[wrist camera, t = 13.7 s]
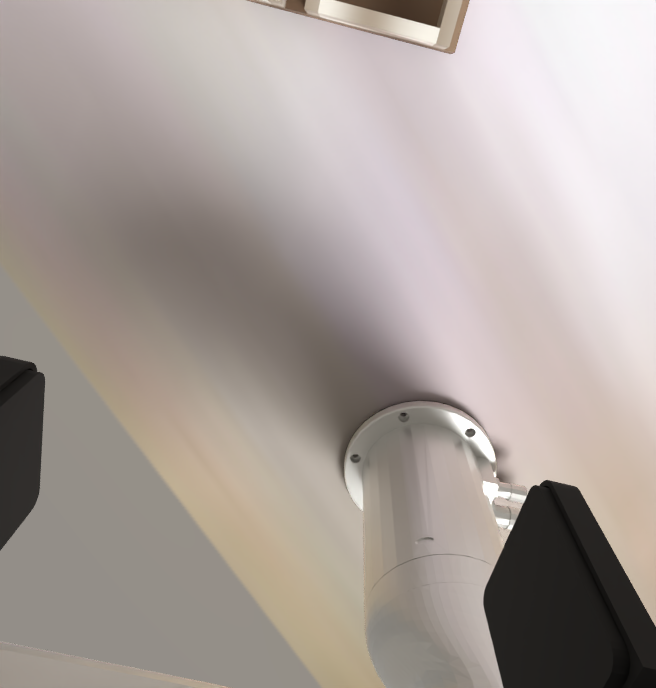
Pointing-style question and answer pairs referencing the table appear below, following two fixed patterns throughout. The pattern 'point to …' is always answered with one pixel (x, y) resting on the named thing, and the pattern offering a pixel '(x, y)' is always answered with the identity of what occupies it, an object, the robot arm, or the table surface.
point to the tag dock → (389, 18)
